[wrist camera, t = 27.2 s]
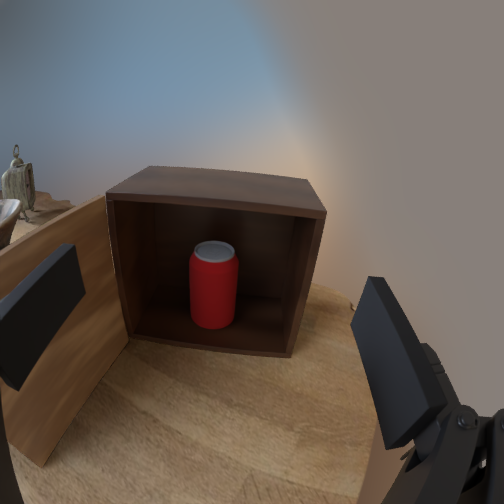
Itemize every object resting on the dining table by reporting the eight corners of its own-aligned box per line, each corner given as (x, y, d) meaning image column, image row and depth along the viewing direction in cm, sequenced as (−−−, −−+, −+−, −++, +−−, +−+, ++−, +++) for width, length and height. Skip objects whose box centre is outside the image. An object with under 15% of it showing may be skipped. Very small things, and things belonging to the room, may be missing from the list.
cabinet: (290, 358, 39) (327, 211, 28) (128, 337, 38) (105, 191, 28) (285, 299, 51) (307, 179, 41) (155, 285, 51) (149, 165, 40)
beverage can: (240, 312, 45) (247, 245, 40) (223, 338, 40) (227, 267, 34) (203, 300, 47) (204, 234, 41) (182, 323, 41) (179, 254, 36)
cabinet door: (8, 440, 17) (-96, 295, 7) (97, 328, 38) (68, 191, 28) (41, 468, 16) (-84, 325, 6) (129, 340, 37) (105, 195, 27)
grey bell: (31, 223, 68) (21, 144, 56) (8, 228, 63) (-3, 151, 52) (37, 208, 78) (30, 140, 67) (16, 213, 74) (9, 145, 62)
